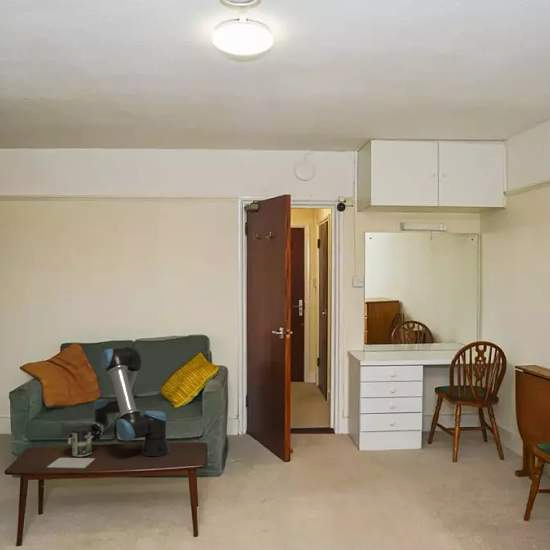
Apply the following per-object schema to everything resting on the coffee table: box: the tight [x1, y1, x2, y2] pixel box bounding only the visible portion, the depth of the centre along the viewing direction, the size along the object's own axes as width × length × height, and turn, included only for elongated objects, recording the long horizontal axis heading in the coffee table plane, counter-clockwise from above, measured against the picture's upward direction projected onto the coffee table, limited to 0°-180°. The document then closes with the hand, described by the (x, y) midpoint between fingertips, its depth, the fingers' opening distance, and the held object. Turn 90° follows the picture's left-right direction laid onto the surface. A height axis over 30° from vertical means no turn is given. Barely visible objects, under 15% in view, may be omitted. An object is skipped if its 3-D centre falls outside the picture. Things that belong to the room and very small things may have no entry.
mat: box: [46, 457, 96, 469], centre depth 280 cm, size 20×14×1 cm
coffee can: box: [71, 425, 92, 458], centre depth 293 cm, size 10×10×14 cm
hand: (78, 441), depth 289 cm, fingers closed on coffee can, 10 cm apart
